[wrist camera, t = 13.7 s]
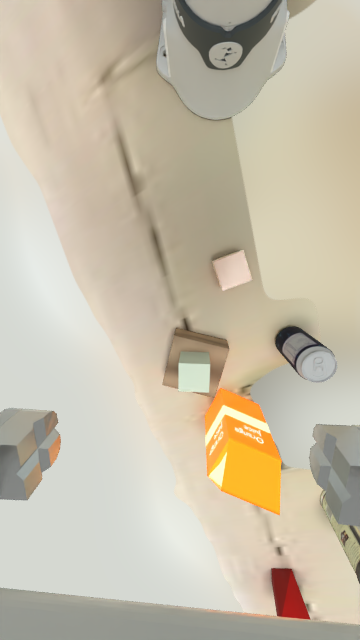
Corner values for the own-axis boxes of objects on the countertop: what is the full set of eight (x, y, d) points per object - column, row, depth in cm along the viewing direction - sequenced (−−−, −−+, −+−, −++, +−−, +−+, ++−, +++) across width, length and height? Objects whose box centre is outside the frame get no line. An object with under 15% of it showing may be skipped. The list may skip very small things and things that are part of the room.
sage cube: (180, 351, 44) (178, 363, 39) (208, 352, 44) (210, 364, 39) (180, 376, 45) (178, 391, 41) (207, 377, 45) (209, 392, 40)
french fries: (268, 584, 64) (288, 681, 49) (267, 561, 62) (288, 655, 47) (303, 585, 63) (335, 683, 48) (304, 561, 61) (336, 657, 46)
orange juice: (220, 387, 50) (234, 469, 31) (259, 404, 51) (296, 495, 32) (204, 417, 53) (207, 511, 33) (241, 433, 53) (266, 535, 34)
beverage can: (274, 354, 48) (299, 386, 36) (273, 326, 46) (298, 350, 35) (305, 352, 47) (339, 383, 36) (304, 323, 46) (340, 346, 34)
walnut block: (176, 327, 48) (174, 335, 43) (226, 339, 48) (229, 349, 43) (165, 372, 51) (162, 384, 46) (212, 384, 51) (214, 397, 46)
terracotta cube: (211, 260, 44) (212, 261, 40) (238, 250, 44) (243, 250, 39) (220, 287, 45) (222, 290, 41) (246, 277, 45) (252, 280, 40)
